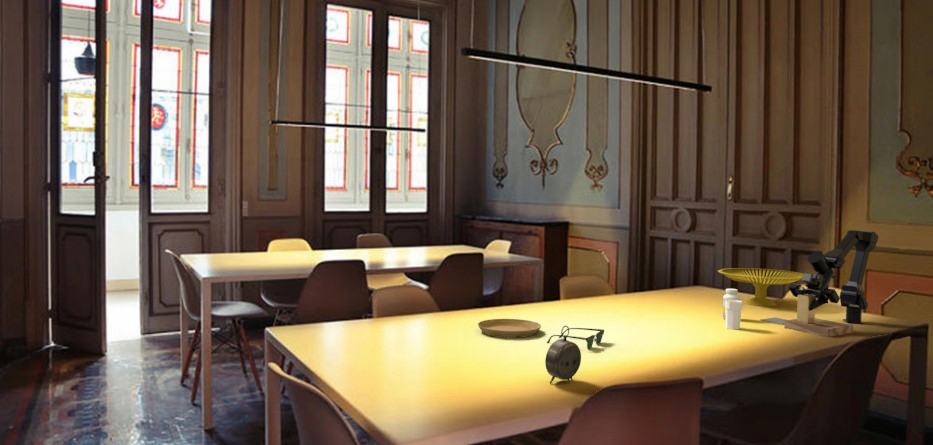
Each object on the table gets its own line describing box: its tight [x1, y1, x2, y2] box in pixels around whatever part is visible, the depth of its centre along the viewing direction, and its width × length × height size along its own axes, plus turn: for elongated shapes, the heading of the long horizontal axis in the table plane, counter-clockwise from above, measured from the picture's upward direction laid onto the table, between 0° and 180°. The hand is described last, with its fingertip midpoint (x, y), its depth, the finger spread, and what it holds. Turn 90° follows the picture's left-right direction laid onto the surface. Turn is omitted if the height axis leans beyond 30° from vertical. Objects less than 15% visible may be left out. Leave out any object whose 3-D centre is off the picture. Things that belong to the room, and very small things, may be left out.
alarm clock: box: [544, 325, 582, 385], centre depth 190 cm, size 11×5×16 cm, turn 129°
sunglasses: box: [546, 327, 605, 350], centre depth 238 cm, size 16×17×5 cm
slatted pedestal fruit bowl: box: [717, 267, 803, 307], centre depth 326 cm, size 40×40×15 cm
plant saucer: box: [477, 318, 542, 339], centre depth 255 cm, size 24×24×3 cm
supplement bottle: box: [722, 288, 741, 320], centre depth 286 cm, size 7×7×13 cm
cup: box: [724, 299, 743, 330], centre depth 267 cm, size 7×7×11 cm
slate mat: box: [759, 317, 787, 325], centre depth 282 cm, size 10×10×1 cm
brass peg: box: [796, 294, 816, 324], centre depth 265 cm, size 4×4×12 cm
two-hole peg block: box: [783, 317, 854, 338], centre depth 265 cm, size 16×18×3 cm
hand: (803, 309), depth 264 cm, fingers closed on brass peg, 4 cm apart
